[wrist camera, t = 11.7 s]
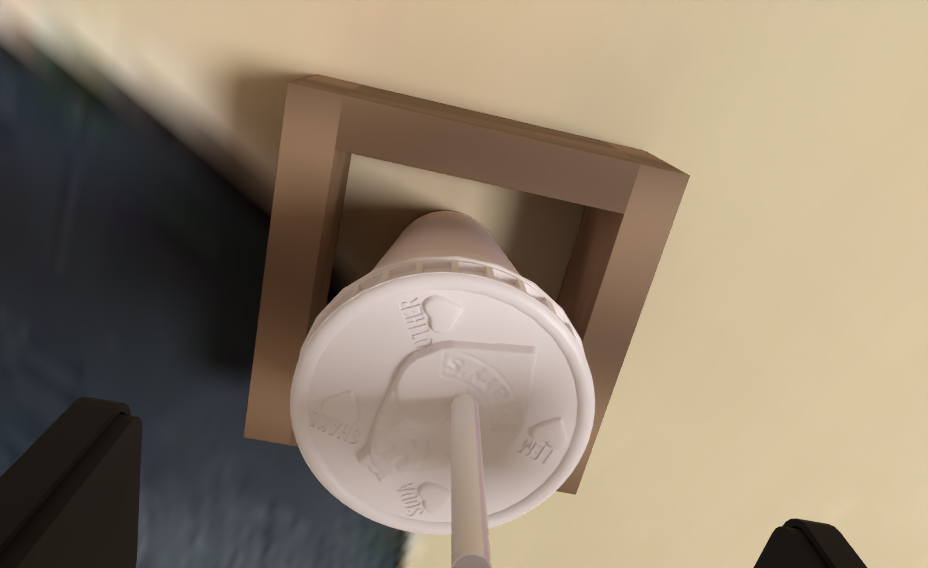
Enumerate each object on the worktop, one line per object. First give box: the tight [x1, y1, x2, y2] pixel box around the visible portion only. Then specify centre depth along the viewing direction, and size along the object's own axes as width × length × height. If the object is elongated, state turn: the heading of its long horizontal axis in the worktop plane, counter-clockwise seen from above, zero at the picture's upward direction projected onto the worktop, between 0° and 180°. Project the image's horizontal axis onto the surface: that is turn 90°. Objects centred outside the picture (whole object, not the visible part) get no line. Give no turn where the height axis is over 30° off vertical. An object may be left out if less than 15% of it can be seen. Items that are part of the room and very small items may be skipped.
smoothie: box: [290, 211, 595, 568], centre depth 15 cm, size 6×6×14 cm
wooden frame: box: [244, 75, 690, 494], centre depth 20 cm, size 11×11×4 cm
